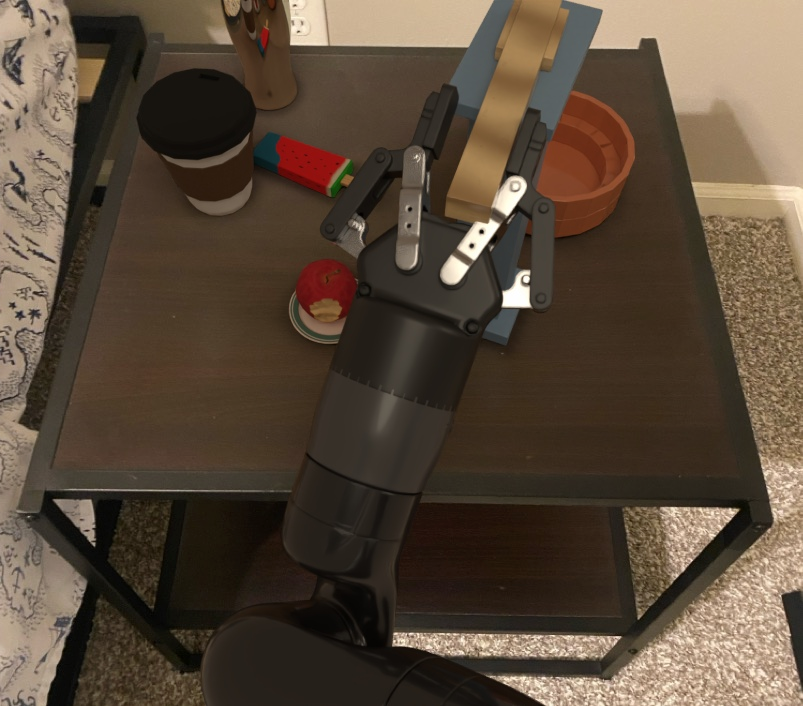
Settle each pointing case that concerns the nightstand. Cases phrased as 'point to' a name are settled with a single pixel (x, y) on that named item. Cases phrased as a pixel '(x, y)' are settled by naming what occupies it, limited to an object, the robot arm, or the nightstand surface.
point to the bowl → (585, 165)
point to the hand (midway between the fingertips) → (491, 102)
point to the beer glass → (263, 48)
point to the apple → (322, 300)
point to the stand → (546, 97)
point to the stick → (505, 106)
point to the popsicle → (304, 163)
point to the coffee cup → (202, 136)
